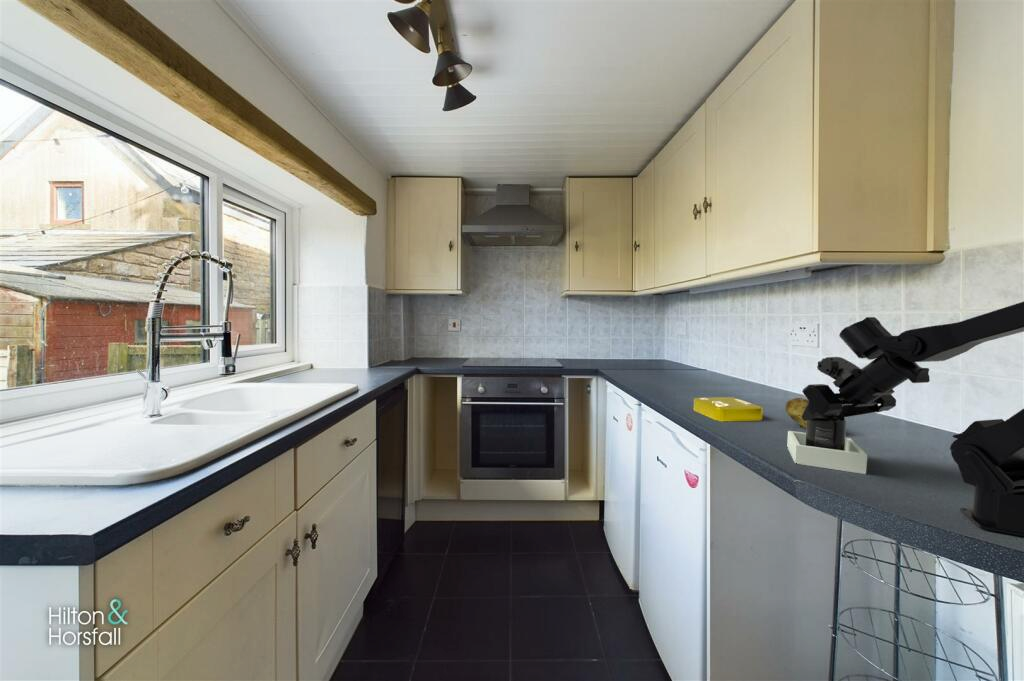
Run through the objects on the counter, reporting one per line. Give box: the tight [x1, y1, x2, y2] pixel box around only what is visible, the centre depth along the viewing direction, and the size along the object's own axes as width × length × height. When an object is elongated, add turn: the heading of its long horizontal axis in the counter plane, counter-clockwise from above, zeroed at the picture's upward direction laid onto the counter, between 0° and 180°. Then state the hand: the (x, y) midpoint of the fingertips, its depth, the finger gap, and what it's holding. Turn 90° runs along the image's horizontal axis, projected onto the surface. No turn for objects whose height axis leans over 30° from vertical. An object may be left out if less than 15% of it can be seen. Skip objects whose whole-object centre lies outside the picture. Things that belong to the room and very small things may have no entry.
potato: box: [785, 397, 809, 429], centre depth 111 cm, size 8×13×8 cm, turn 8°
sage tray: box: [786, 430, 868, 475], centre depth 88 cm, size 12×12×4 cm
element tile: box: [693, 396, 764, 422], centre depth 126 cm, size 15×15×5 cm
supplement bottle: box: [805, 411, 847, 451], centre depth 87 cm, size 7×7×12 cm
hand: (819, 417), depth 89 cm, fingers open, 9 cm apart
